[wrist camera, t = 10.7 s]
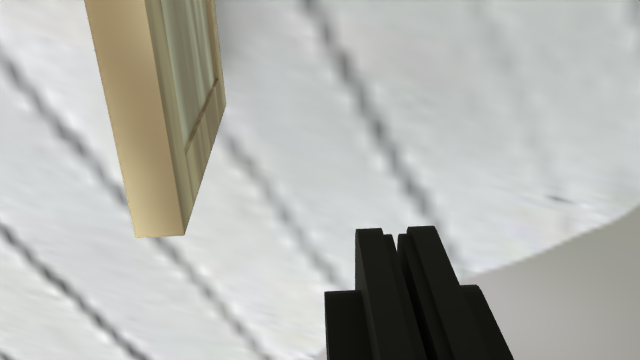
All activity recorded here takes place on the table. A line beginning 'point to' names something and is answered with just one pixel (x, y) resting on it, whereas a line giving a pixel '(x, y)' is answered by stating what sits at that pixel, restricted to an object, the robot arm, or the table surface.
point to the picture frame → (160, 102)
